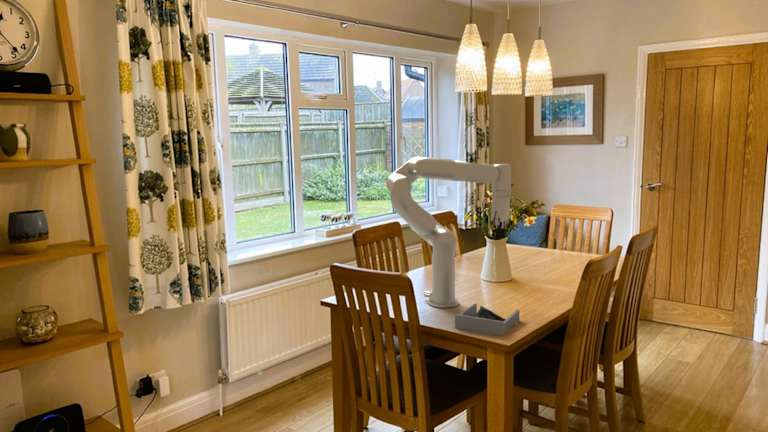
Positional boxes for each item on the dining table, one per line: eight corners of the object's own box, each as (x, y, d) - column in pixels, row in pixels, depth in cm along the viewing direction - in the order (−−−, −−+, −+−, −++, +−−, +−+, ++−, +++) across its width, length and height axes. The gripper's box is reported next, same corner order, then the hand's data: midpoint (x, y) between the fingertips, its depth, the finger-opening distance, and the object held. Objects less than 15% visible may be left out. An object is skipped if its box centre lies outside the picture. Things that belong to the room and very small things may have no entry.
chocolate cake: (511, 323, 215) (489, 299, 218) (511, 324, 208) (488, 299, 211) (492, 340, 216) (470, 316, 219) (491, 342, 209) (468, 316, 212)
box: (454, 327, 210) (454, 314, 209) (474, 313, 226) (474, 300, 225) (502, 336, 201) (502, 322, 200) (519, 320, 217) (519, 307, 216)
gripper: (499, 191, 245) (499, 233, 248) (485, 195, 233) (485, 239, 236) (516, 192, 241) (516, 235, 244) (503, 196, 229) (502, 241, 232)
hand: (501, 237), depth 240 cm, fingers closed
